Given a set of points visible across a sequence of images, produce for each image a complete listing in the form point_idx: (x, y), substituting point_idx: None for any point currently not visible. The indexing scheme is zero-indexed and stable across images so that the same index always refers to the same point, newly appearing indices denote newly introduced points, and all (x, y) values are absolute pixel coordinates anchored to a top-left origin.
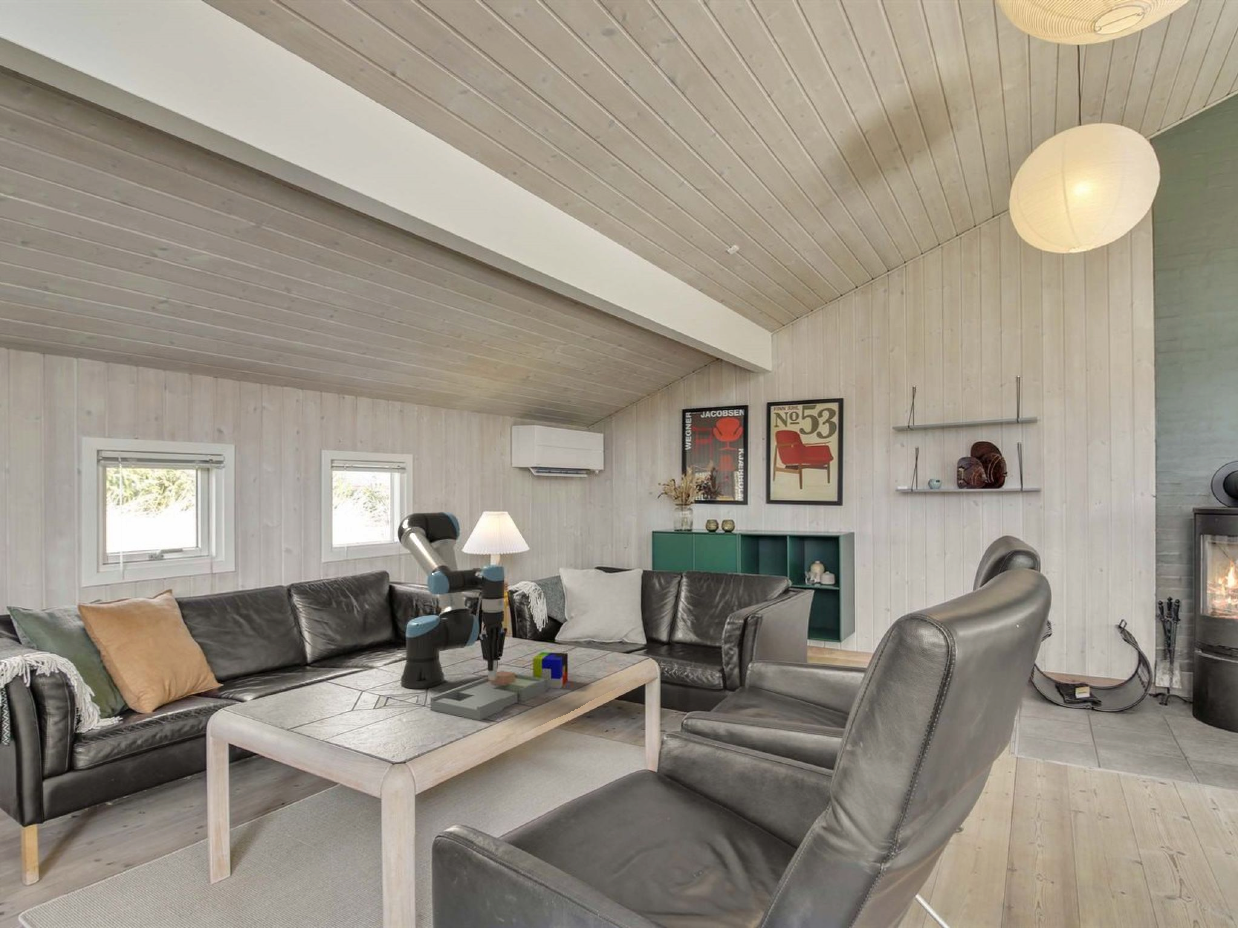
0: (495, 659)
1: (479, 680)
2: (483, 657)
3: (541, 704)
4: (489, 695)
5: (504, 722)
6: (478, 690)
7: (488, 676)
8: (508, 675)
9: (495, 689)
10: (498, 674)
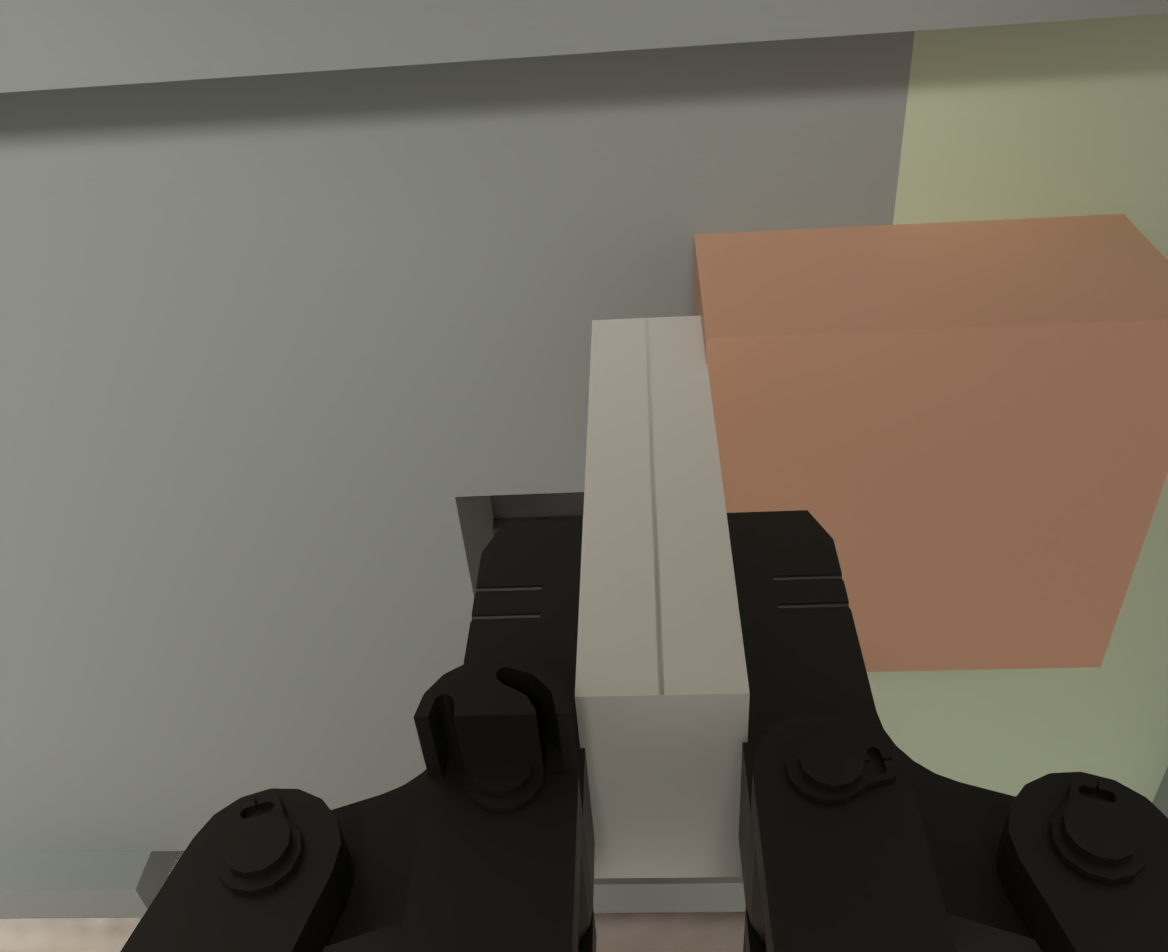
0: (744, 849)
1: (541, 21)
2: (168, 914)
3: (618, 916)
4: (159, 673)
5: (14, 930)
6: (173, 381)
7: (592, 361)
8: (866, 666)
9: (438, 567)
10: (822, 486)
